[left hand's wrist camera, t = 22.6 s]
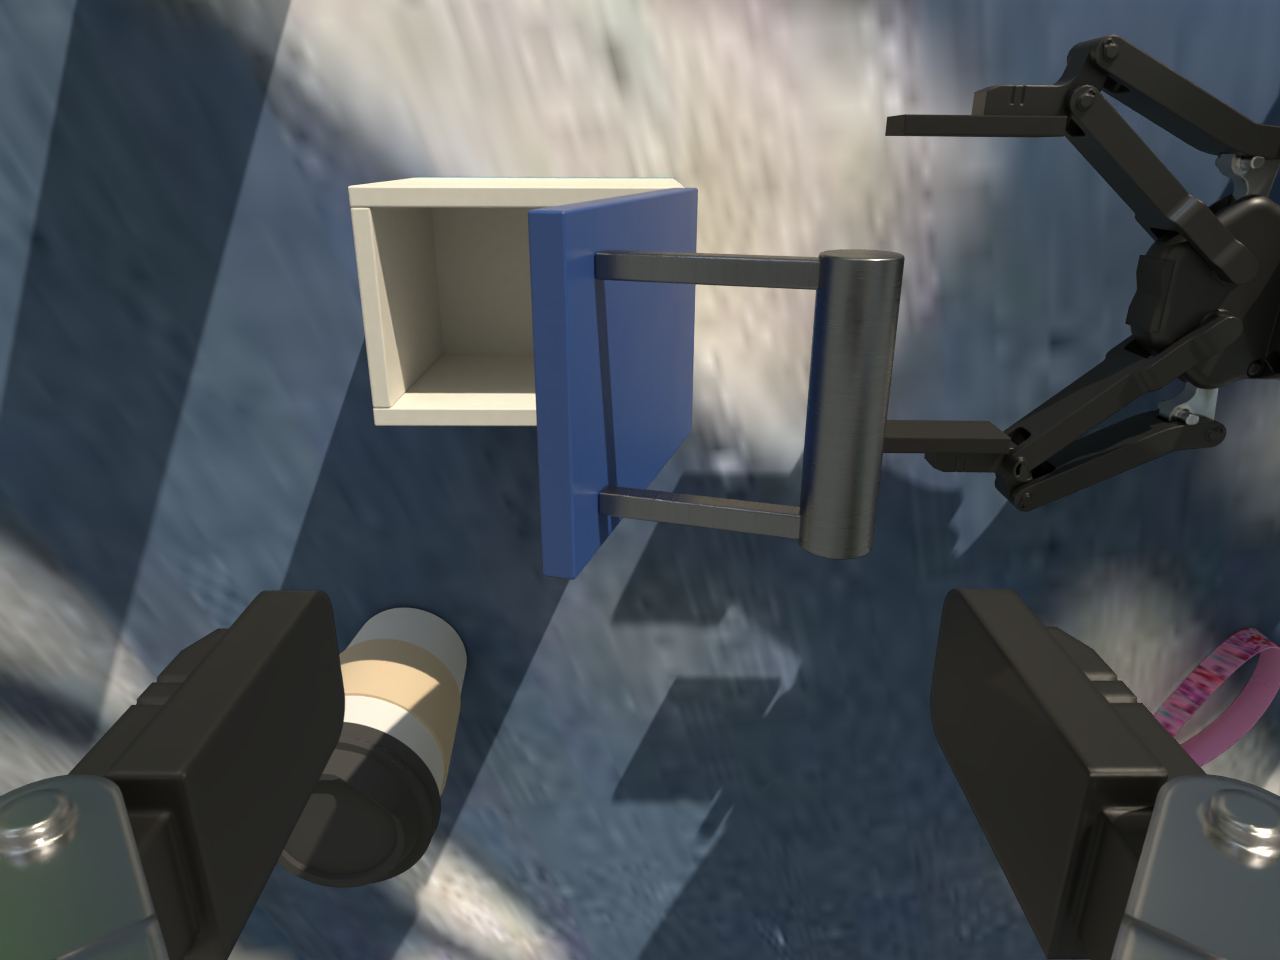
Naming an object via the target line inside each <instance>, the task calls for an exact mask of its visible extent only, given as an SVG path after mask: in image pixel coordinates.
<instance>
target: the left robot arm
mask: <svg viewBox="0 0 1280 960" xmlns="http://www.w3.org/2000/svg"><path fill="white" fill-rule="evenodd" d="M930 706H931V717H932V723H933V728H934V732H935V735H936V738H937V741H938V743H939V745H940V747H941V749H942V751H943V753H944V755H945V757H946V759H947V761H948V763H949V765H950V767H951V769H952V771H953V773H954V775H955V777H956V779H957V781H958V783H959V785H960V787H961V789H962V791H963V793H964V795H965V796H966V798H967V800H968V802H969V804H970V806H971V808H972V810H973V812H974V814H975V816H976V818H977V820H978V822H979V824H980V826H981V828H982V830H983V832H984V834H985V836H986V838H987V840H988V842H989V844H990V846H991V848H992V850H993V852H994V854H995V856H996V858H997V860H998V862H999V864H1000V866H1001V868H1002V870H1003V872H1004V874H1005V876H1006V878H1007V880H1008V882H1009V884H1010V886H1011V888H1012V890H1013V892H1014V894H1015V896H1016V898H1017V900H1018V902H1019V904H1020V906H1021V908H1022V910H1023V912H1024V914H1025V916H1026V918H1027V920H1028V922H1029V924H1030V926H1031V928H1032V930H1033V932H1034V934H1035V936H1036V937H1037V939H1038V941H1039V943H1040V945H1041V947H1042V949H1043V951H1044V953H1045V955H1046V957H1047V959H1091V960H1280V796H1278V795H1276V794H1274V793H1272V792H1269V791H1267V790H1265V789H1263V788H1260V787H1257V786H1255V785H1252V784H1249V783H1246V782H1243V781H1240V780H1236V779H1232V778H1227V777H1223V776H1216V775H1208V774H1206V773H1205V772H1204V771H1203V770H1202V769H1201V768H1200V766H1199V765H1198V764H1197V763H1196V762H1195V761H1194V760H1193V759H1192V758H1191V757H1190V755H1189V754H1188V753H1187V752H1186V751H1185V750H1184V749H1183V748H1182V747H1181V746H1180V744H1179V743H1178V742H1177V741H1176V740H1175V739H1174V738H1173V737H1172V736H1171V735H1170V733H1169V732H1168V731H1167V730H1166V729H1165V728H1164V727H1163V726H1162V725H1161V724H1160V722H1159V721H1158V720H1157V719H1156V718H1155V717H1154V716H1153V715H1152V714H1151V712H1150V711H1149V710H1148V709H1147V708H1146V707H1145V706H1144V705H1143V704H1142V703H1137V697H1136V696H1135V695H1134V694H1133V693H1132V692H1131V690H1130V689H1129V688H1128V687H1127V686H1126V685H1125V684H1124V683H1123V682H1122V681H1117V675H1116V674H1115V673H1114V672H1113V671H1112V670H1111V668H1110V667H1109V666H1108V665H1107V664H1106V663H1105V662H1104V661H1103V660H1102V659H1101V657H1100V656H1099V655H1098V654H1097V653H1096V652H1095V651H1094V650H1093V649H1092V648H1090V647H1089V646H1087V645H1085V644H1084V643H1082V642H1080V641H1079V640H1077V639H1075V638H1074V637H1072V636H1070V635H1069V634H1067V633H1065V632H1064V631H1062V630H1061V629H1059V628H1057V627H1045V626H1044V625H1043V624H1042V622H1041V621H1040V620H1039V619H1038V618H1037V617H1036V615H1035V614H1034V613H1033V612H1032V611H1031V609H1030V608H1029V607H1028V606H1027V605H1026V604H1025V602H1024V601H1023V600H1022V599H1021V598H1020V597H1019V595H1018V594H1017V593H1016V592H1015V591H1013V590H1011V589H952V590H950V591H949V592H948V594H947V596H946V598H945V601H944V605H943V610H942V617H941V624H940V631H939V638H938V645H937V652H936V659H935V666H934V673H933V680H932V686H931V697H930ZM344 715H345V692H344V684H343V677H342V671H341V664H340V657H339V650H338V643H337V637H336V630H335V623H334V616H333V610H332V605H331V601H330V599H329V596H328V595H327V593H325V592H324V591H263V592H261V593H260V594H258V595H257V597H256V598H255V599H254V600H253V601H252V602H251V604H250V605H249V606H248V607H247V608H246V609H245V611H244V612H243V613H242V614H241V615H240V616H239V618H238V619H237V620H236V621H235V622H234V623H233V625H232V626H231V627H230V628H229V629H217V630H215V631H213V632H212V633H210V634H208V635H207V636H205V637H203V638H202V639H200V640H199V641H197V642H195V643H194V644H192V645H190V646H189V647H187V648H185V649H184V650H182V651H181V652H180V653H179V654H178V655H177V656H176V657H175V658H174V659H173V660H172V662H171V663H170V664H169V665H168V666H167V667H166V668H165V669H164V670H163V671H162V672H161V674H160V675H159V676H158V677H157V682H156V683H151V685H150V686H149V687H148V688H147V689H146V690H145V691H144V692H143V693H142V694H141V695H140V697H139V698H138V699H137V704H136V705H131V706H130V707H129V709H128V710H127V711H126V712H125V713H124V714H123V715H122V716H121V717H120V718H119V719H118V721H117V722H116V723H115V724H114V725H113V726H112V727H111V728H110V729H109V730H108V731H107V733H106V734H105V735H104V736H103V737H102V738H101V739H100V740H99V741H98V742H97V743H96V745H95V746H94V747H93V748H92V749H91V750H90V751H89V752H88V753H87V754H86V755H85V757H84V758H83V759H82V760H81V761H80V762H79V763H78V764H77V765H76V766H75V767H74V769H73V770H72V771H71V772H70V773H69V774H68V775H64V776H57V777H53V778H48V779H44V780H40V781H37V782H34V783H31V784H28V785H25V786H23V787H20V788H17V789H15V790H13V791H11V792H8V793H6V794H4V795H2V796H0V960H227V959H228V957H229V955H230V953H231V951H232V950H233V948H234V946H235V944H236V942H237V940H238V938H239V936H240V934H241V932H242V930H243V928H244V926H245V924H246V922H247V920H248V918H249V916H250V914H251V912H252V910H253V908H254V906H255V904H256V902H257V900H258V899H259V897H260V895H261V893H262V891H263V889H264V887H265V885H266V883H267V881H268V879H269V877H270V875H271V873H272V871H273V869H274V867H275V865H276V863H277V861H278V859H279V857H280V855H281V853H282V851H283V849H284V848H285V846H286V844H287V842H288V840H289V838H290V836H291V834H292V832H293V830H294V828H295V826H296V824H297V822H298V820H299V818H300V816H301V814H302V812H303V810H304V808H305V806H306V804H307V802H308V800H309V798H310V796H311V795H312V793H313V791H314V789H315V787H316V785H317V783H318V781H319V779H320V777H321V775H322V773H323V771H324V769H325V767H326V765H327V763H328V761H329V759H330V757H331V755H332V753H333V751H334V749H335V747H336V745H337V743H338V741H339V738H340V735H341V732H342V728H343V723H344Z"/></svg>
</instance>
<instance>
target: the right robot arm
mask: <svg viewBox="0 0 1280 960" xmlns="http://www.w3.org/2000/svg"><path fill="white" fill-rule="evenodd" d="M1101 90H1102V91H1104V92H1105V93H1107V94H1108V95H1110V96H1112V97H1113V98H1115V99H1117V100H1118V101H1120V102H1121V103H1123V104H1125V105H1126V106H1128V107H1129V108H1131V109H1133V110H1134V111H1136V112H1137V113H1139V114H1141V115H1142V116H1144V117H1145V118H1147V119H1149V120H1150V121H1152V122H1153V123H1155V124H1157V125H1158V126H1160V127H1162V128H1163V129H1165V130H1166V131H1168V132H1170V133H1171V134H1173V135H1174V136H1176V137H1178V138H1179V139H1181V140H1182V141H1184V142H1186V143H1187V144H1189V145H1190V146H1192V147H1194V148H1196V149H1198V150H1200V151H1203V152H1206V153H1208V154H1213V155H1217V156H1218V157H1217V159H1216V162H1215V164H1216V167H1218V168H1219V170H1220V172H1221V173H1222V174H1223V175H1225V176H1227V177H1229V178H1230V179H1231V180H1232V182H1233V185H1234V189H1233V194H1231V195H1228V196H1225V197H1223V198H1221V199H1220V200H1218V201H1217V202H1215V203H1214V204H1212V205H1210V206H1209V207H1207V206H1206V205H1205V204H1204V203H1203V202H1202V201H1200V200H1199V199H1197V198H1195V197H1193V196H1192V195H1190V194H1189V193H1188V192H1187V191H1186V190H1185V188H1184V187H1183V186H1182V185H1181V184H1180V183H1179V182H1178V181H1177V179H1176V178H1175V177H1174V176H1173V175H1172V174H1171V173H1170V171H1169V170H1168V169H1167V168H1166V167H1165V166H1164V165H1163V164H1162V162H1161V161H1160V160H1159V159H1158V158H1157V157H1156V156H1155V154H1154V153H1153V152H1152V151H1151V150H1150V149H1149V148H1148V146H1147V145H1146V144H1145V143H1144V142H1143V141H1142V140H1141V139H1140V137H1139V136H1138V135H1137V134H1136V133H1135V132H1134V131H1133V129H1132V128H1131V127H1130V126H1129V125H1128V124H1127V123H1126V121H1125V120H1124V119H1123V118H1122V117H1121V116H1120V115H1119V114H1118V112H1117V111H1116V110H1115V109H1114V108H1113V107H1112V106H1111V104H1110V103H1109V102H1108V101H1107V100H1106V99H1105V98H1104V97H1103V95H1102V94H1101V93H1100V91H1101ZM885 136H956V137H1060V136H1065V137H1066V138H1067V139H1068V140H1069V141H1070V142H1071V143H1072V144H1073V145H1074V147H1075V148H1076V149H1077V150H1078V151H1079V152H1080V153H1081V154H1082V155H1083V156H1084V158H1085V159H1086V160H1087V161H1088V162H1089V163H1090V164H1091V165H1092V166H1093V167H1094V169H1095V170H1096V171H1097V172H1098V173H1099V174H1100V175H1101V176H1102V177H1103V178H1104V180H1105V181H1106V182H1107V183H1108V184H1109V185H1110V186H1111V187H1112V188H1113V189H1114V191H1115V192H1116V193H1117V194H1118V195H1119V196H1120V197H1121V198H1122V199H1123V200H1124V202H1125V203H1126V204H1127V205H1128V206H1129V207H1130V208H1131V209H1132V210H1133V211H1134V213H1135V219H1136V220H1137V222H1138V223H1139V224H1140V225H1141V226H1142V227H1143V228H1144V229H1145V230H1146V232H1147V233H1148V234H1149V235H1150V236H1151V237H1152V238H1153V239H1154V240H1155V242H1154V243H1153V245H1152V246H1151V247H1150V248H1149V250H1148V252H1147V253H1146V255H1140V258H1139V262H1138V267H1137V272H1136V275H1137V291H1136V294H1135V296H1134V298H1133V300H1132V302H1131V304H1130V306H1129V309H1128V314H1127V319H1126V323H1125V324H1128V325H1131V332H1132V335H1131V336H1130V337H1128V338H1127V339H1125V340H1124V341H1123V342H1121V343H1120V344H1118V345H1117V346H1115V347H1114V348H1113V349H1111V350H1110V351H1109V352H1108V353H1107V354H1106V358H1105V360H1104V361H1103V362H1101V363H1100V364H1099V365H1097V366H1096V367H1094V368H1093V369H1091V370H1090V371H1089V372H1087V373H1086V374H1084V375H1083V376H1082V377H1080V378H1079V379H1077V380H1076V381H1074V382H1073V383H1072V384H1070V385H1069V386H1067V387H1066V388H1064V389H1063V390H1062V391H1060V392H1059V393H1057V394H1056V395H1055V396H1053V397H1052V398H1050V399H1049V400H1047V401H1046V402H1045V403H1043V404H1042V405H1040V406H1039V407H1037V408H1036V409H1035V410H1033V411H1032V412H1030V413H1029V414H1028V415H1026V416H1025V417H1023V418H1022V419H1020V420H1019V421H1018V422H1016V423H1015V424H1013V425H1012V426H1010V427H1009V428H1008V429H1006V430H1005V431H1003V432H1002V431H1001V430H1000V429H998V428H997V427H996V426H995V425H993V424H992V423H991V422H989V421H921V420H887V421H886V430H885V439H884V448H883V453H925V457H924V458H925V459H926V460H927V461H928V462H929V463H930V465H931V466H932V467H933V468H935V469H938V470H940V471H943V472H994V473H995V474H996V479H995V487H996V489H997V490H998V491H999V492H1000V493H1001V494H1002V495H1003V496H1004V497H1005V498H1006V499H1007V500H1009V501H1010V502H1011V503H1012V504H1013V505H1014V506H1015V507H1016V508H1017V509H1019V510H1020V511H1030V510H1033V509H1035V508H1038V507H1040V506H1042V505H1045V504H1047V503H1050V502H1052V501H1054V500H1057V499H1059V498H1062V497H1064V496H1066V495H1069V494H1071V493H1074V492H1076V491H1078V490H1081V489H1083V488H1086V487H1088V486H1091V485H1093V484H1095V483H1098V482H1100V481H1103V480H1105V479H1107V478H1110V477H1112V476H1115V475H1117V474H1119V473H1122V472H1124V471H1127V470H1129V469H1131V468H1134V467H1136V466H1139V465H1141V464H1143V463H1146V462H1148V461H1151V460H1153V459H1156V458H1158V457H1160V456H1163V455H1165V454H1168V453H1170V452H1172V451H1176V450H1186V449H1197V448H1207V447H1213V446H1217V445H1218V444H1220V443H1221V442H1222V441H1223V440H1224V438H1225V436H1226V428H1225V427H1224V425H1223V424H1221V423H1219V422H1217V421H1215V420H1214V416H1215V409H1216V402H1217V395H1218V388H1220V387H1222V386H1224V385H1226V384H1228V383H1231V382H1233V381H1236V380H1240V379H1280V205H1278V204H1276V203H1275V202H1273V201H1272V200H1271V199H1269V198H1268V197H1269V194H1270V192H1271V189H1272V186H1273V183H1274V181H1275V178H1276V175H1277V173H1278V170H1279V167H1280V126H1273V125H1266V124H1259V123H1255V122H1253V121H1252V120H1250V119H1249V118H1247V117H1245V116H1244V115H1242V114H1241V113H1239V112H1238V111H1236V110H1235V109H1233V108H1231V107H1230V106H1228V105H1227V104H1225V103H1224V102H1222V101H1220V100H1219V99H1217V98H1216V97H1214V96H1213V95H1211V94H1209V93H1208V92H1206V91H1205V90H1203V89H1202V88H1200V87H1198V86H1197V85H1195V84H1194V83H1192V82H1191V81H1189V80H1187V79H1186V78H1184V77H1183V76H1181V75H1180V74H1178V73H1176V72H1175V71H1173V70H1172V69H1170V68H1169V67H1167V66H1165V65H1164V64H1162V63H1161V62H1159V61H1158V60H1156V59H1155V58H1153V57H1151V56H1150V55H1148V54H1147V53H1145V52H1144V51H1142V50H1140V49H1139V48H1137V47H1136V46H1134V45H1133V44H1131V43H1129V42H1128V41H1126V40H1125V39H1123V38H1122V37H1120V36H1117V35H1110V36H1105V37H1101V38H1097V39H1093V40H1089V41H1085V42H1081V43H1078V44H1076V45H1075V46H1073V48H1072V49H1071V50H1070V51H1069V54H1068V56H1067V67H1066V69H1065V71H1064V73H1063V75H1062V76H1061V78H1060V79H1059V80H1058V81H1057V82H1056V83H1055V84H1054V85H1052V86H1047V85H998V86H992V87H987V88H984V89H982V90H980V91H977V92H975V93H974V100H973V108H972V115H898V116H891V117H887V125H886V134H885ZM1151 355H1152V356H1153V358H1149V359H1147V358H1148V357H1150V356H1151ZM1176 378H1179V379H1180V380H1181V381H1183V382H1186V383H1185V387H1184V389H1183V391H1182V392H1181V393H1180V394H1179V395H1178V396H1176V397H1174V398H1171V399H1168V400H1163V401H1161V402H1160V403H1159V404H1158V406H1157V408H1158V410H1156V411H1150V412H1146V413H1142V414H1138V415H1136V416H1133V417H1130V418H1128V419H1125V420H1123V421H1121V422H1118V423H1116V424H1114V425H1111V426H1109V427H1107V428H1104V429H1102V430H1099V431H1097V432H1095V433H1092V434H1090V435H1088V436H1085V437H1083V438H1081V439H1078V438H1079V437H1080V436H1082V435H1083V434H1085V433H1086V432H1088V431H1089V430H1091V429H1092V428H1094V427H1095V426H1096V425H1098V424H1099V423H1101V422H1102V421H1104V420H1105V419H1107V418H1108V417H1110V416H1111V415H1113V414H1114V413H1115V412H1117V411H1118V410H1120V409H1121V408H1123V407H1124V406H1126V405H1127V404H1129V403H1130V402H1132V401H1133V400H1134V399H1136V398H1137V397H1139V396H1140V395H1142V394H1143V393H1146V392H1150V391H1155V390H1158V389H1160V388H1162V387H1164V386H1165V385H1167V384H1168V383H1170V382H1171V381H1173V380H1174V379H1176ZM1076 439H1078V440H1076ZM1075 440H1076V441H1075ZM1073 441H1074V442H1073Z"/></svg>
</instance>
